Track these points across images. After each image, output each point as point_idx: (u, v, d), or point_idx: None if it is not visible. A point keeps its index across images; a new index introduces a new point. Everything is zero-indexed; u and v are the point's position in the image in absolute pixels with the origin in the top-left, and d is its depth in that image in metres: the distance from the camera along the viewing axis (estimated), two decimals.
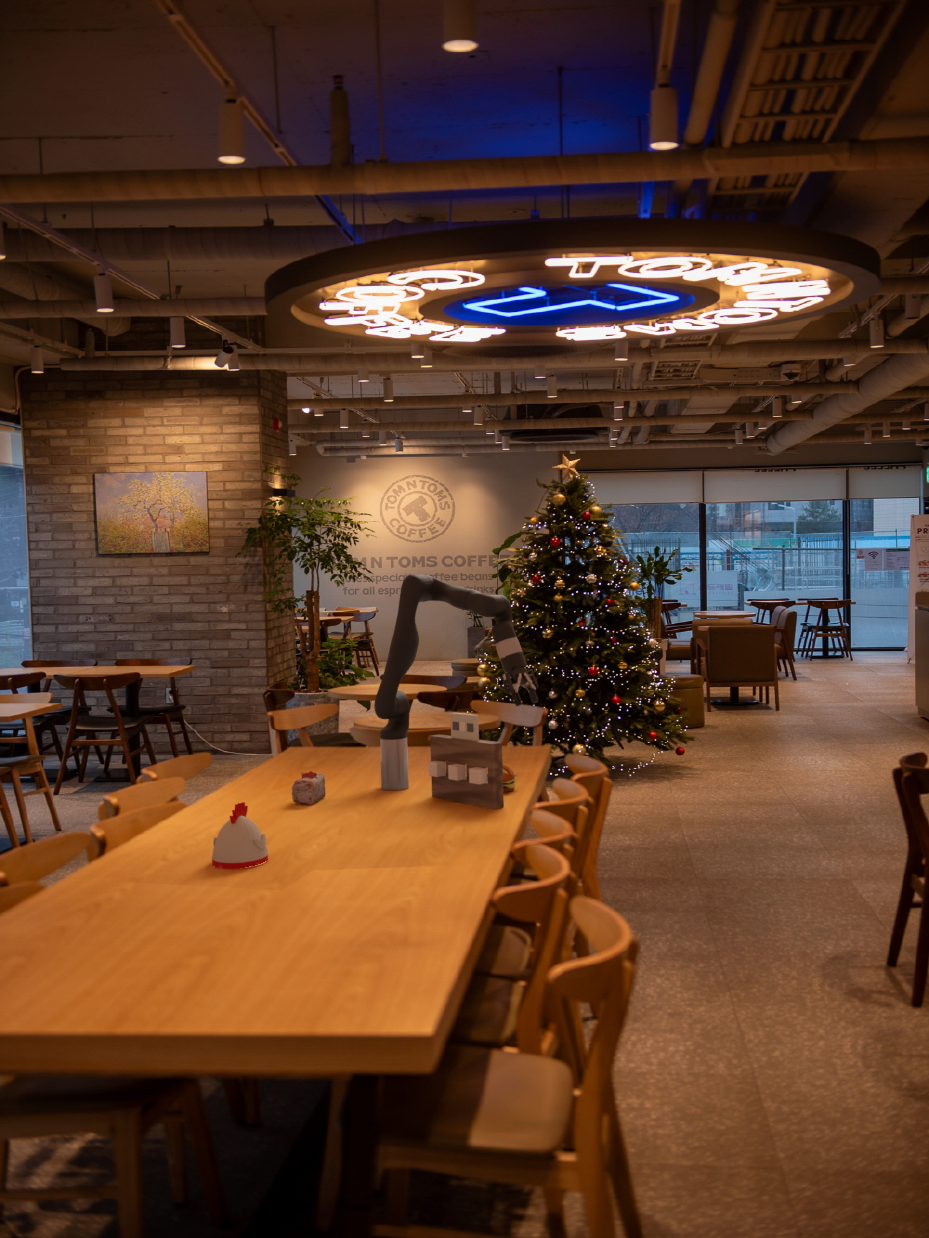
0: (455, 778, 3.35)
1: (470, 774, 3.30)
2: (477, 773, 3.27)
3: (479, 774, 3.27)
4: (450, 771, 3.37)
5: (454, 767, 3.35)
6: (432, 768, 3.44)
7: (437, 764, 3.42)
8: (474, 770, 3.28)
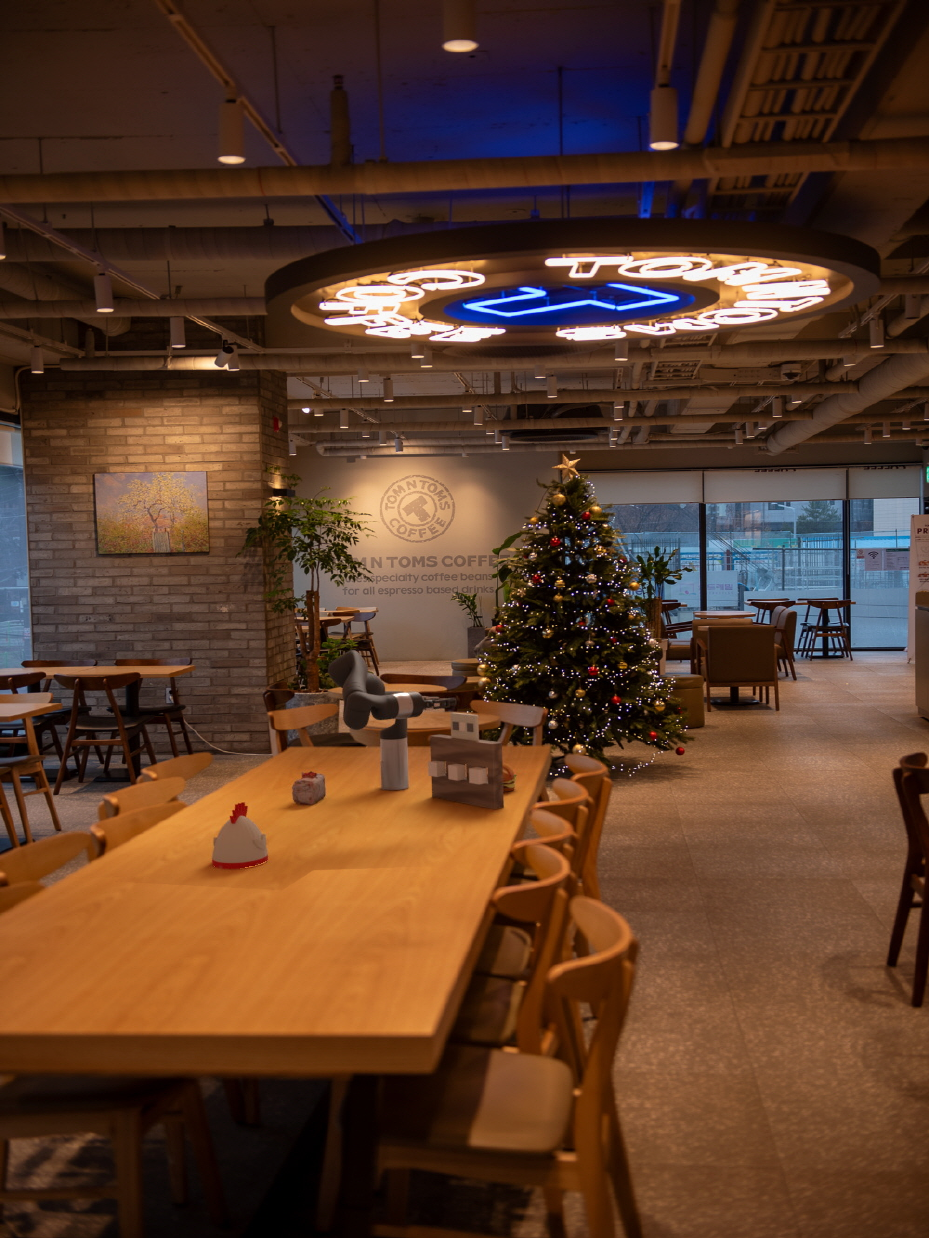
0: (455, 778, 3.35)
1: (470, 774, 3.30)
2: (477, 773, 3.27)
3: (479, 774, 3.27)
4: (450, 771, 3.37)
5: (454, 767, 3.35)
6: (432, 768, 3.44)
7: (437, 764, 3.42)
8: (474, 770, 3.28)
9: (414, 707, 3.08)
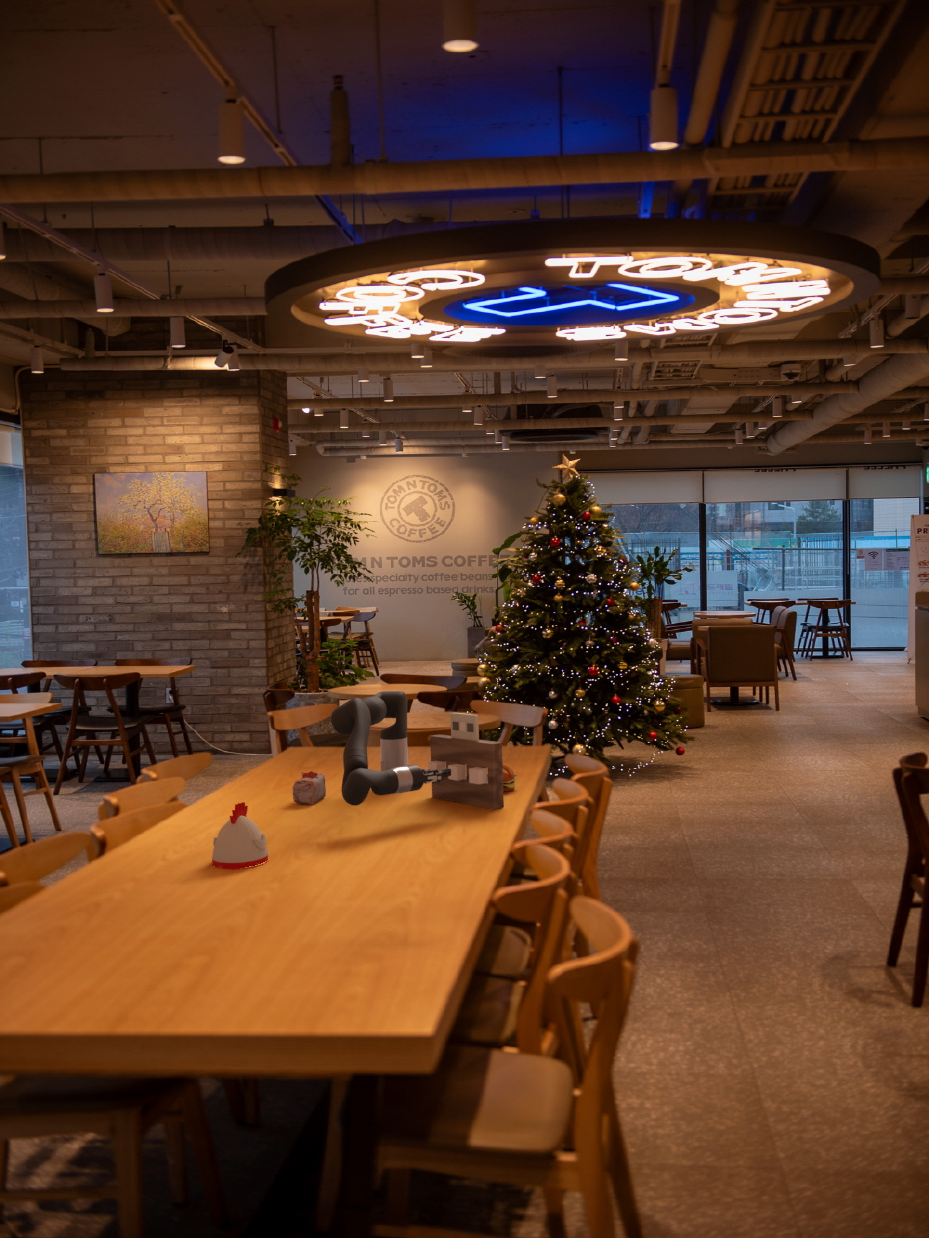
0: (455, 778, 3.35)
1: (470, 774, 3.30)
2: (477, 773, 3.27)
3: (479, 774, 3.27)
4: None
5: (454, 767, 3.35)
6: (432, 768, 3.44)
7: (437, 764, 3.42)
8: (474, 770, 3.28)
9: (414, 781, 3.09)
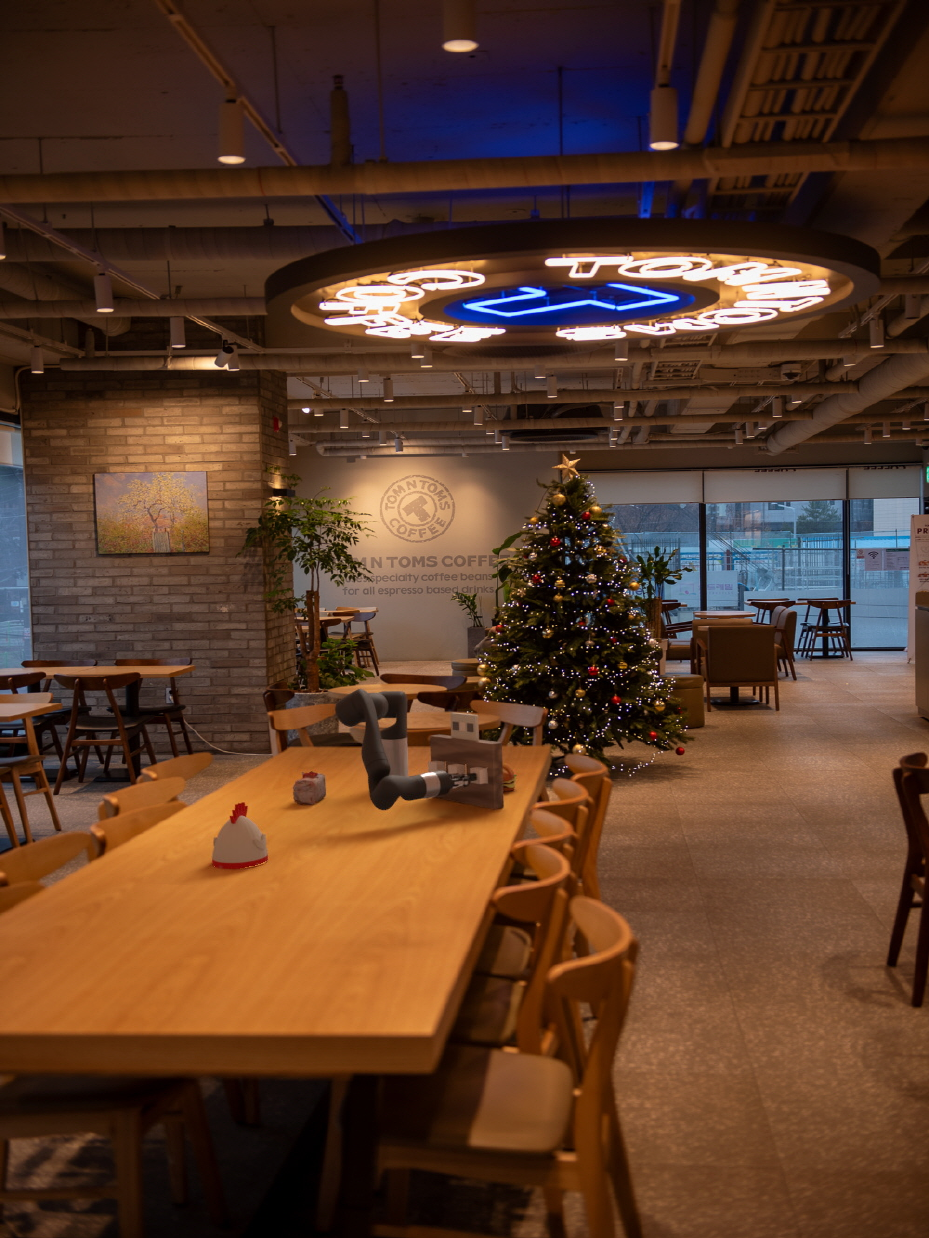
0: None
1: None
2: (479, 773, 3.28)
3: (480, 774, 3.28)
4: (450, 771, 3.37)
5: (454, 767, 3.35)
6: (432, 768, 3.44)
7: (437, 764, 3.42)
8: (475, 770, 3.29)
9: (441, 787, 3.15)
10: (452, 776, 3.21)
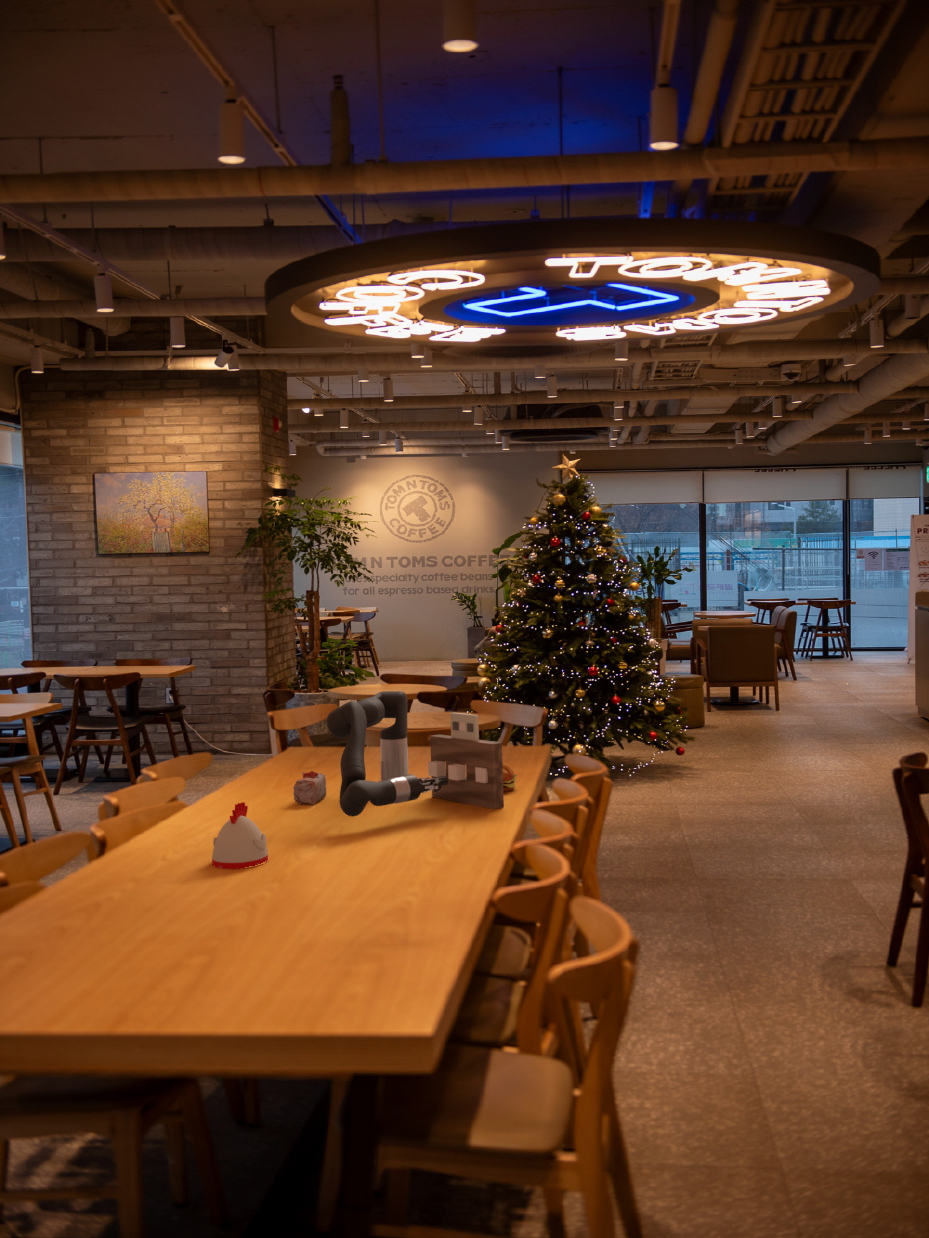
0: (455, 778, 3.35)
1: (476, 773, 3.32)
2: (484, 772, 3.29)
3: (485, 773, 3.29)
4: (450, 771, 3.37)
5: (454, 767, 3.35)
6: (432, 768, 3.44)
7: (437, 764, 3.42)
8: (480, 769, 3.30)
9: (411, 792, 3.11)
10: (422, 780, 3.17)
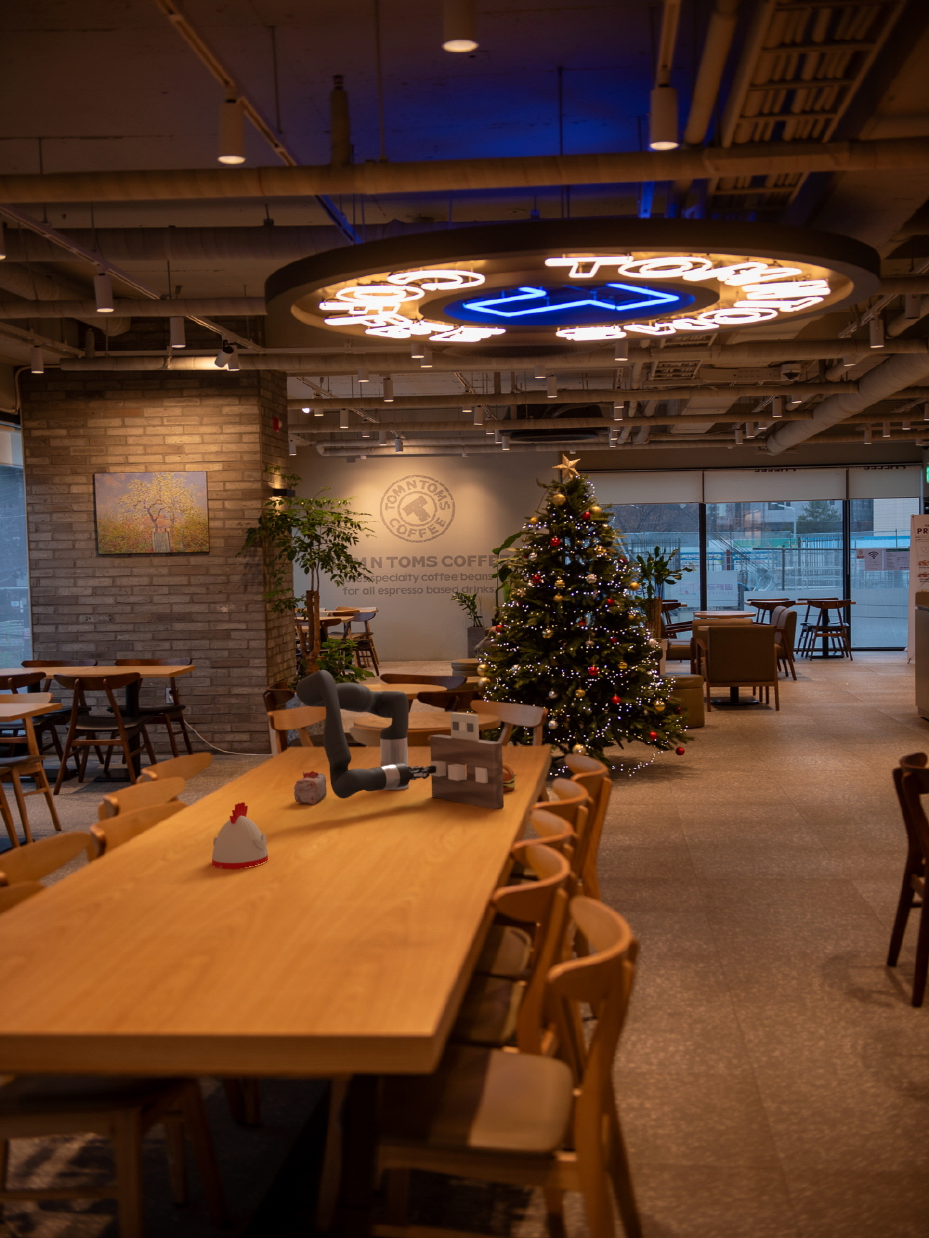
0: (455, 778, 3.35)
1: (476, 773, 3.32)
2: (484, 772, 3.29)
3: (485, 773, 3.29)
4: (450, 771, 3.37)
5: (454, 767, 3.35)
6: None
7: (439, 764, 3.43)
8: (480, 769, 3.30)
9: (401, 778, 3.31)
10: (412, 768, 3.36)
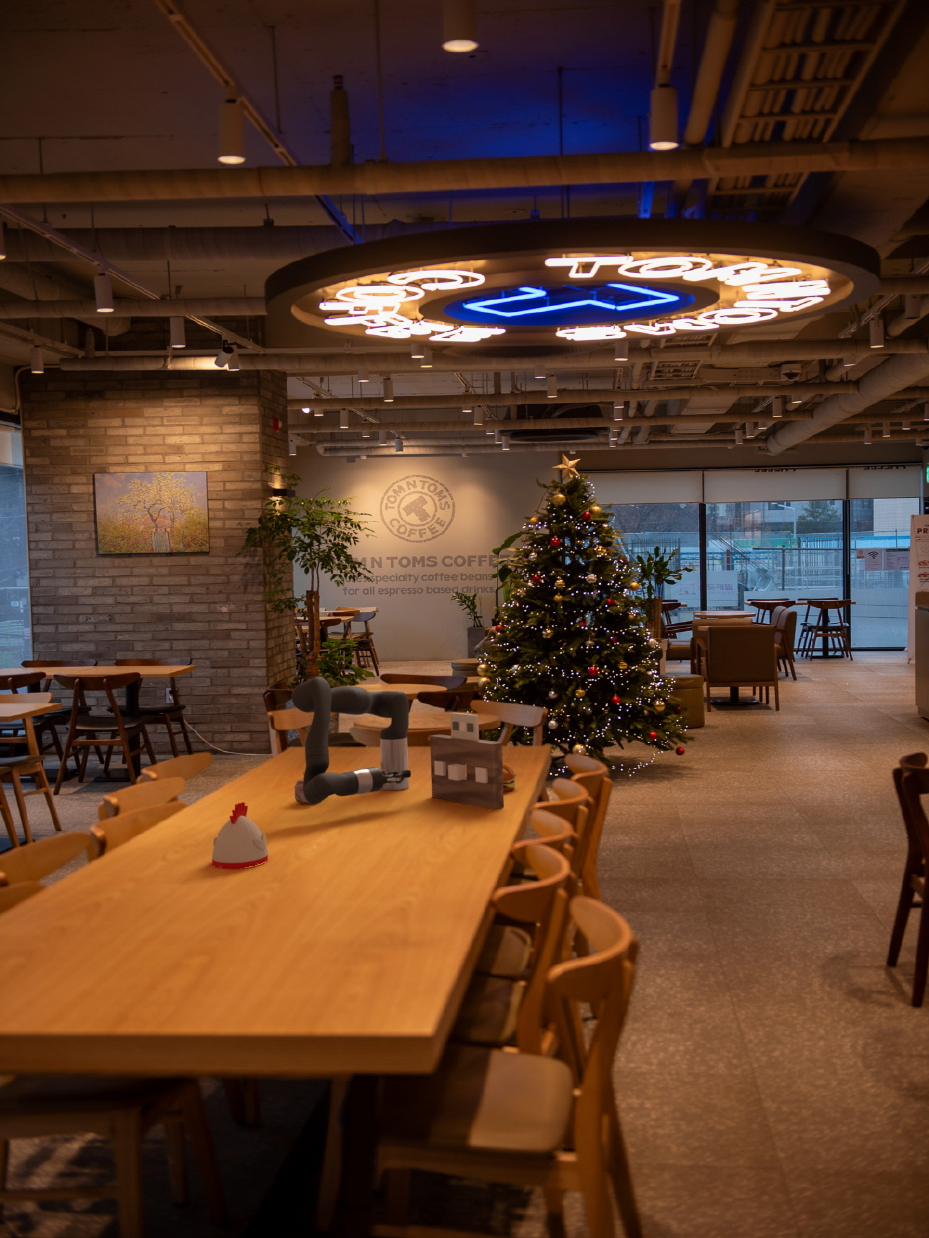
0: (455, 778, 3.35)
1: (476, 773, 3.32)
2: (484, 772, 3.29)
3: (485, 773, 3.29)
4: (450, 771, 3.37)
5: (454, 767, 3.35)
6: (438, 766, 3.45)
7: (443, 763, 3.44)
8: (480, 769, 3.30)
9: (374, 783, 3.24)
10: (385, 773, 3.29)
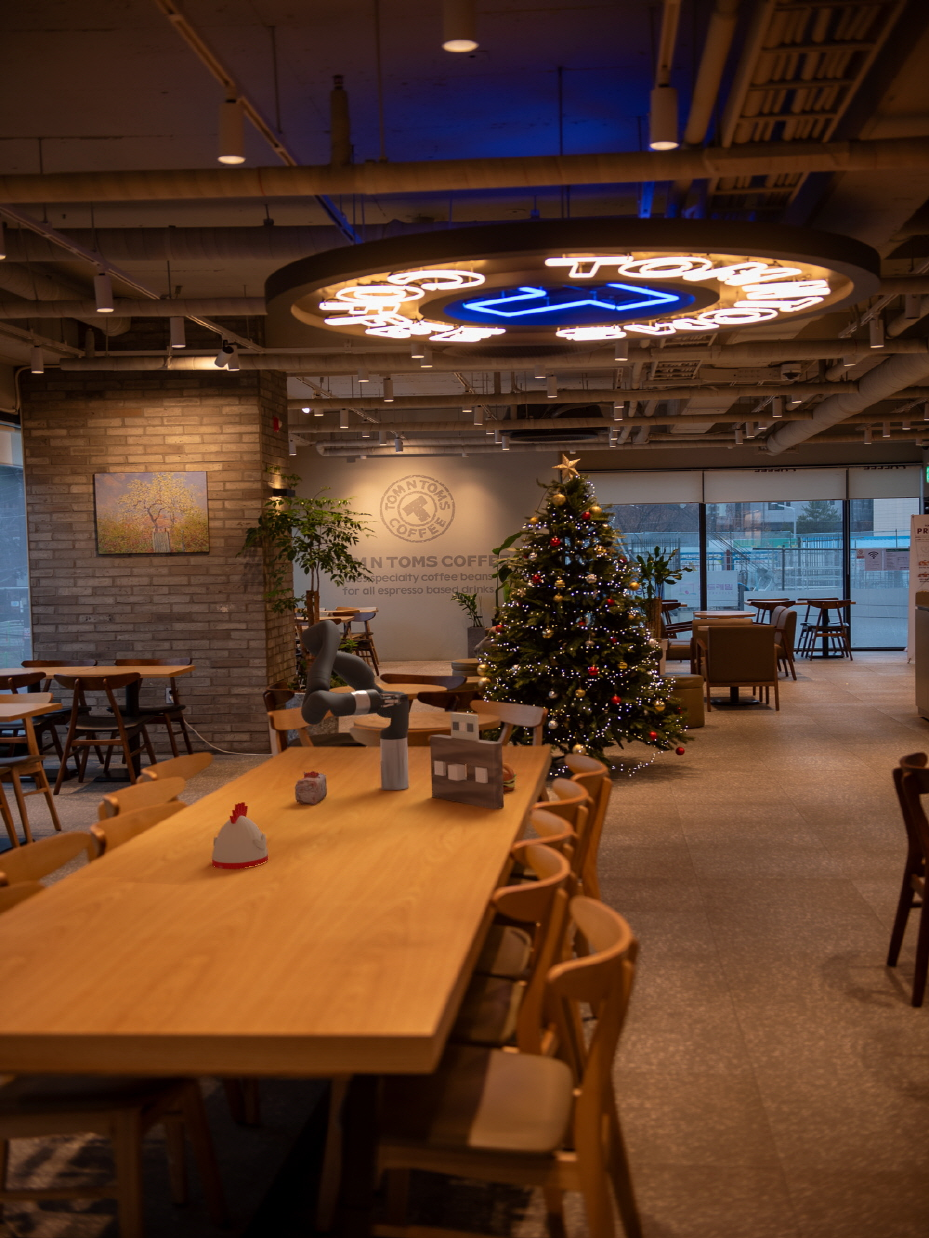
0: (455, 778, 3.35)
1: (476, 773, 3.32)
2: (484, 772, 3.29)
3: (485, 773, 3.29)
4: (450, 771, 3.37)
5: (454, 767, 3.35)
6: (438, 766, 3.45)
7: (443, 763, 3.44)
8: (480, 769, 3.30)
9: (371, 704, 3.23)
10: (383, 695, 3.29)
